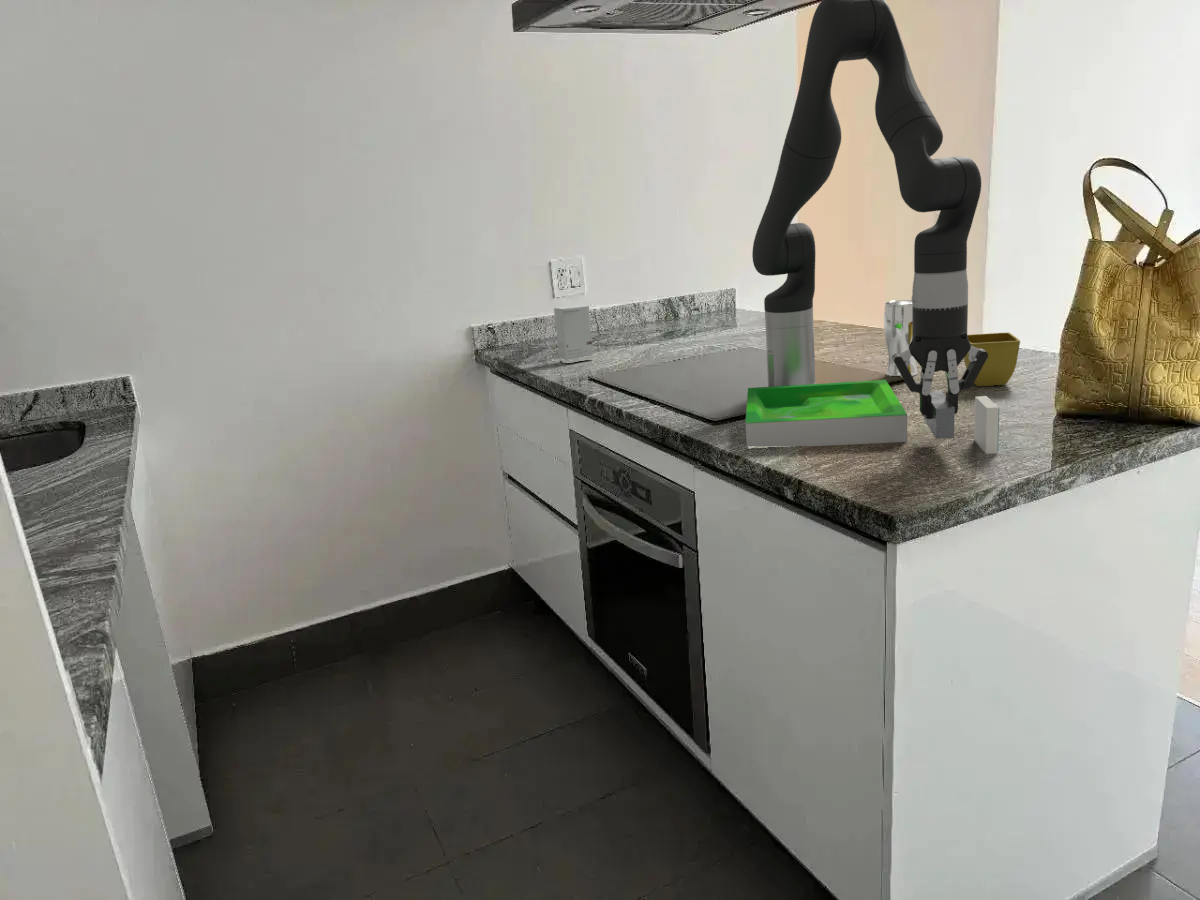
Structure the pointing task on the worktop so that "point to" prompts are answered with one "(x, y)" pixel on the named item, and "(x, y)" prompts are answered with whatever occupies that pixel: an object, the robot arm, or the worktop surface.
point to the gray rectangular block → (941, 416)
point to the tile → (986, 424)
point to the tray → (825, 415)
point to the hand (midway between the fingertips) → (938, 416)
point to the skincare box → (573, 331)
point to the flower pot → (995, 357)
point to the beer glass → (898, 333)
